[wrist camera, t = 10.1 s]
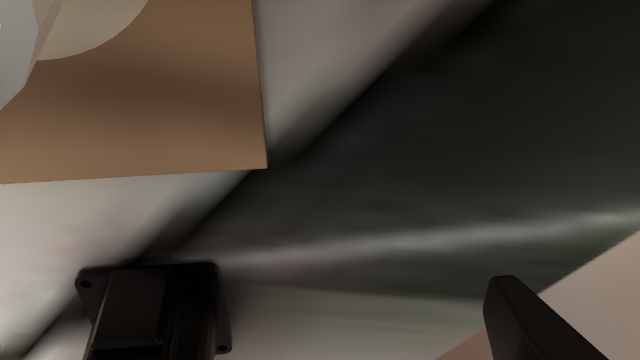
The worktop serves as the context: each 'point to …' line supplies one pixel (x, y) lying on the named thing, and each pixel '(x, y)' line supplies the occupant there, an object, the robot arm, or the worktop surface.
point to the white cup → (22, 40)
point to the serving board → (138, 93)
